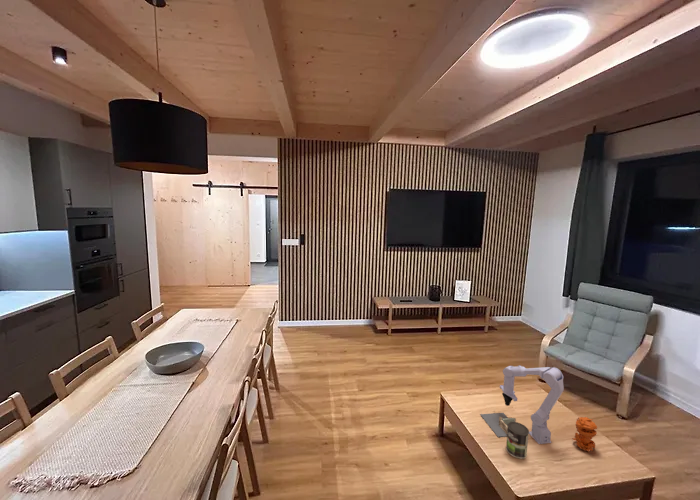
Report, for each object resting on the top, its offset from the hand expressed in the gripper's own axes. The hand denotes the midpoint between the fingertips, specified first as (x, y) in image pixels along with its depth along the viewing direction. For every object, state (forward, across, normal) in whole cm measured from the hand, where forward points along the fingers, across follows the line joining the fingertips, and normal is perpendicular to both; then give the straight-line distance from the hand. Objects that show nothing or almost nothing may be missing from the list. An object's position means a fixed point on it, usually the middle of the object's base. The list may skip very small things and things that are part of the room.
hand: (507, 405), depth 194 cm
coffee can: (+10, -26, +12) cm, 30 cm away
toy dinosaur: (+10, -28, -28) cm, 41 cm away
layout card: (+9, -5, +7) cm, 13 cm away
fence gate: (+8, -6, +3) cm, 11 cm away
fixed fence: (+9, -10, +8) cm, 16 cm away
